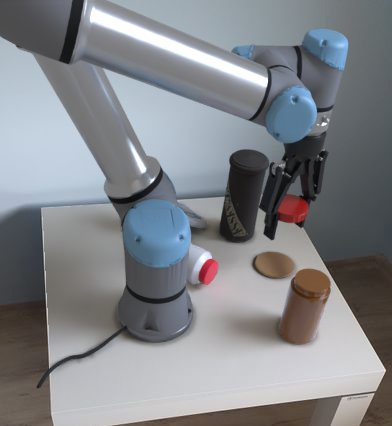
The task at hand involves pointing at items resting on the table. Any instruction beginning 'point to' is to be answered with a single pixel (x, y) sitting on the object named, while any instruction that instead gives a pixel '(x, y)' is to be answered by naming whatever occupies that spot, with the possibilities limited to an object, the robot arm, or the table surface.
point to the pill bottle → (200, 266)
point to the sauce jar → (304, 306)
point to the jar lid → (293, 209)
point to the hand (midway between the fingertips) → (283, 230)
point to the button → (193, 217)
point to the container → (243, 194)
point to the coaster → (274, 265)
